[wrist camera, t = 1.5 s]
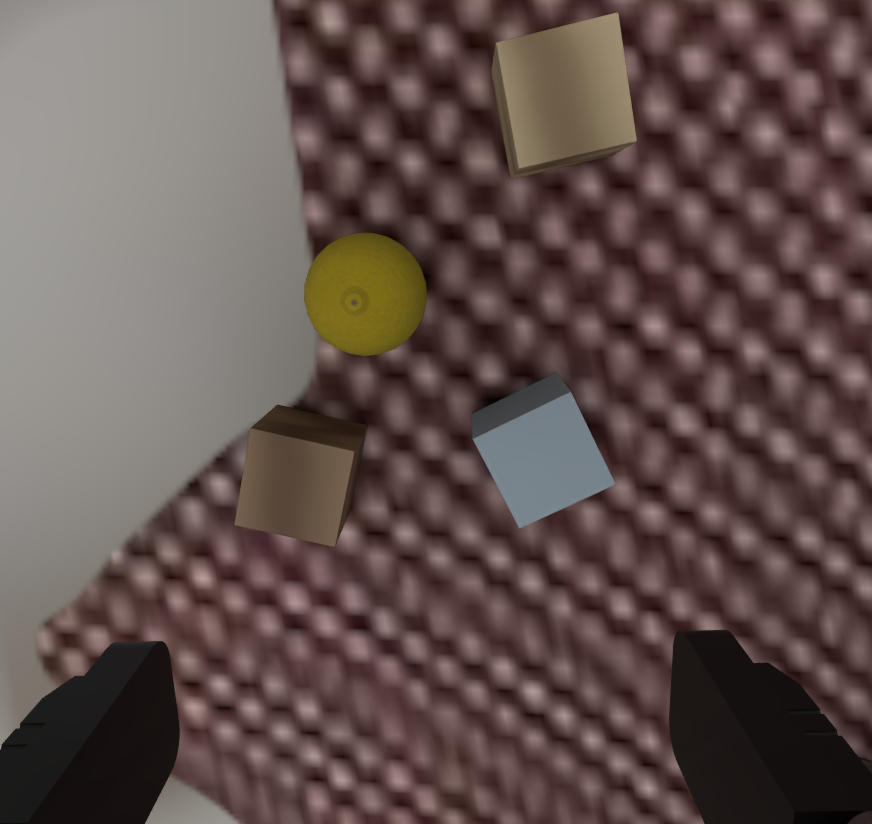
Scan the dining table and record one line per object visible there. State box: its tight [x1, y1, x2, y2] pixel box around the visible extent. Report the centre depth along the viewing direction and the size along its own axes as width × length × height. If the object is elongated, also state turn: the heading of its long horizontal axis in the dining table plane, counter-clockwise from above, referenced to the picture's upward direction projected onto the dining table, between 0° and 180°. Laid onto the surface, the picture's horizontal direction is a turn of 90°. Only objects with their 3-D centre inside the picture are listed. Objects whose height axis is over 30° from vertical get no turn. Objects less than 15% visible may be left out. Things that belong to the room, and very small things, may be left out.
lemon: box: [304, 233, 427, 356], centre depth 32 cm, size 6×6×8 cm
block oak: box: [491, 13, 637, 179], centre depth 31 cm, size 5×5×5 cm
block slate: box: [471, 373, 615, 528], centre depth 35 cm, size 5×5×5 cm
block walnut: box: [235, 405, 368, 547], centre depth 36 cm, size 5×5×5 cm
